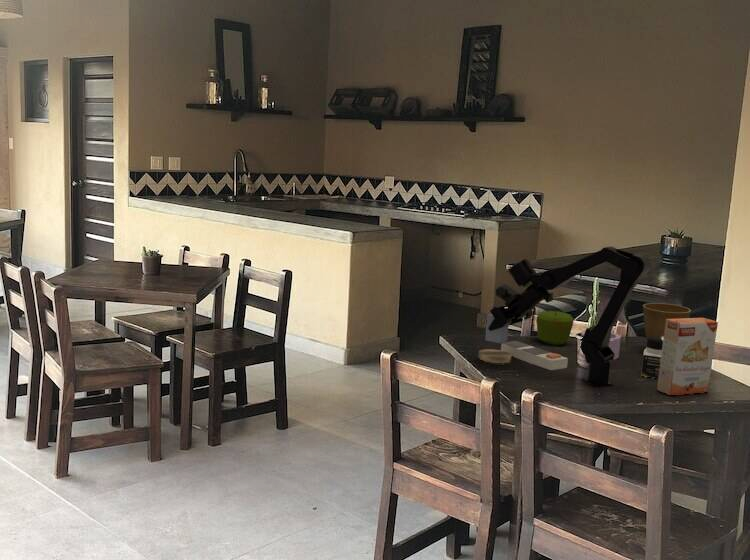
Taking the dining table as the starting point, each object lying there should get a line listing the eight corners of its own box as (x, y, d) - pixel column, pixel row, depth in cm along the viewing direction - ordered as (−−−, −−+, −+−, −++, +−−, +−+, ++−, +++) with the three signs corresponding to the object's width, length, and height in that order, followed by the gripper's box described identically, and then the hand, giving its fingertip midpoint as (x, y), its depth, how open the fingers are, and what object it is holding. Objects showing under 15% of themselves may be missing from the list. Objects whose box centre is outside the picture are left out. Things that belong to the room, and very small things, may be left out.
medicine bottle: (640, 376, 239) (645, 337, 237) (641, 371, 245) (646, 332, 243) (666, 380, 236) (670, 341, 234) (666, 374, 243) (671, 336, 241)
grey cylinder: (507, 340, 248) (509, 315, 247) (499, 343, 244) (501, 317, 243) (493, 337, 251) (494, 312, 250) (485, 340, 247) (487, 314, 246)
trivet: (515, 364, 245) (516, 357, 245) (485, 364, 243) (485, 358, 242) (503, 355, 255) (503, 349, 254) (473, 355, 252) (474, 349, 252)
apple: (538, 336, 284) (541, 305, 282) (573, 341, 279) (576, 309, 277) (531, 343, 272) (534, 311, 270) (567, 349, 268) (570, 316, 266)
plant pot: (640, 346, 278) (645, 301, 275) (686, 353, 272) (692, 306, 269) (635, 355, 264) (640, 307, 262) (683, 362, 258) (689, 314, 256)
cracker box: (671, 397, 220) (680, 323, 216) (655, 390, 225) (664, 318, 222) (709, 393, 225) (719, 321, 222) (693, 387, 231) (702, 316, 227)
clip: (580, 344, 276) (582, 324, 275) (618, 348, 273) (620, 329, 272) (578, 358, 257) (580, 337, 256) (618, 363, 254) (620, 341, 253)
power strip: (566, 367, 244) (568, 355, 243) (550, 370, 240) (551, 358, 240) (516, 350, 262) (517, 338, 262) (500, 352, 258) (501, 340, 258)
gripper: (526, 274, 249) (492, 303, 258) (498, 280, 235) (463, 311, 243) (548, 303, 246) (513, 331, 254) (520, 311, 231) (484, 341, 239)
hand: (493, 328), depth 248 cm, fingers closed on grey cylinder, 5 cm apart
